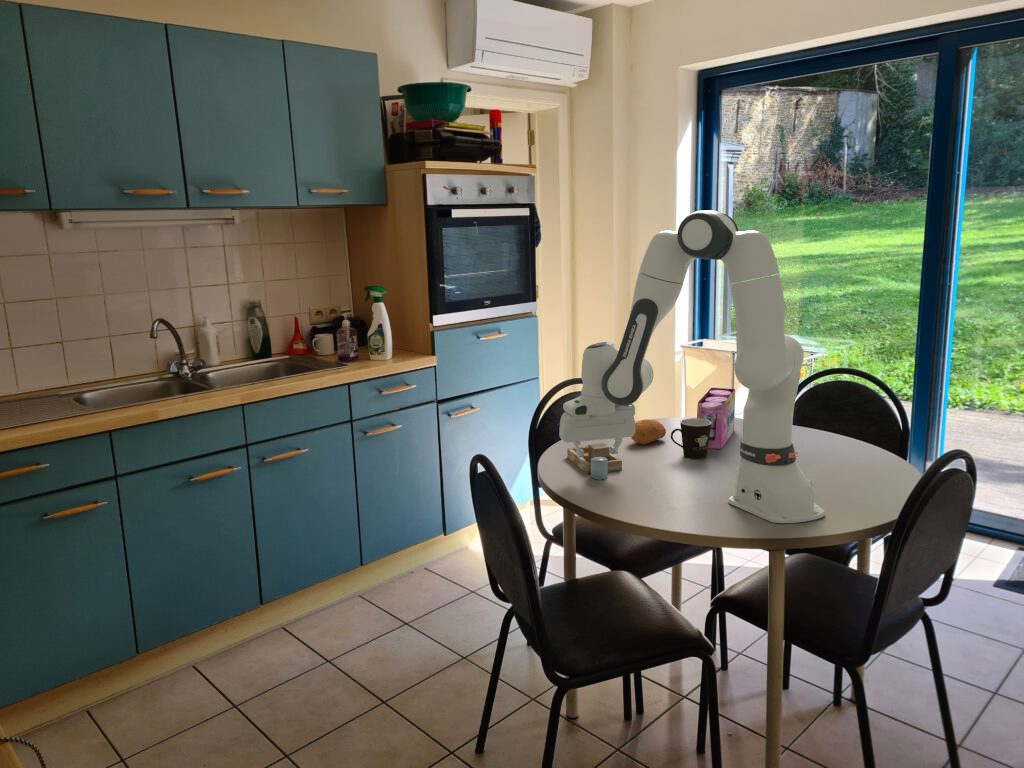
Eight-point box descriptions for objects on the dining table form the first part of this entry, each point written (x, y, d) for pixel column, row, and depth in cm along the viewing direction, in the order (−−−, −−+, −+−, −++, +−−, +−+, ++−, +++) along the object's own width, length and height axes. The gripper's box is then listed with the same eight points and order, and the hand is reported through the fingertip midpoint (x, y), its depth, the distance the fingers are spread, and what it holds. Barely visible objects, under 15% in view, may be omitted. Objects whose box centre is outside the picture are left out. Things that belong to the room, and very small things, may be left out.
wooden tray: (621, 470, 209) (622, 460, 209) (587, 474, 207) (587, 464, 206) (599, 453, 224) (599, 444, 224) (567, 457, 222) (567, 448, 221)
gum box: (721, 451, 224) (722, 405, 221) (693, 448, 227) (694, 403, 225) (734, 430, 245) (736, 388, 243) (709, 428, 249) (710, 387, 246)
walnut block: (609, 464, 210) (609, 447, 209) (594, 466, 209) (594, 448, 208) (603, 460, 214) (603, 442, 213) (588, 461, 213) (588, 444, 212)
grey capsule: (610, 479, 202) (610, 460, 201) (594, 480, 201) (594, 462, 200) (603, 474, 207) (603, 456, 206) (588, 475, 206) (588, 457, 204)
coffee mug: (708, 451, 224) (709, 418, 221) (712, 460, 215) (713, 426, 213) (667, 451, 225) (668, 418, 223) (670, 460, 216) (671, 426, 214)
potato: (623, 443, 234) (623, 420, 233) (655, 436, 241) (655, 414, 240) (639, 448, 228) (640, 425, 227) (671, 441, 235) (671, 418, 234)
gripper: (630, 398, 206) (628, 448, 209) (557, 404, 201) (557, 454, 204) (640, 404, 200) (638, 455, 203) (565, 410, 195) (564, 462, 198)
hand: (597, 455), depth 203 cm, fingers open, 8 cm apart
